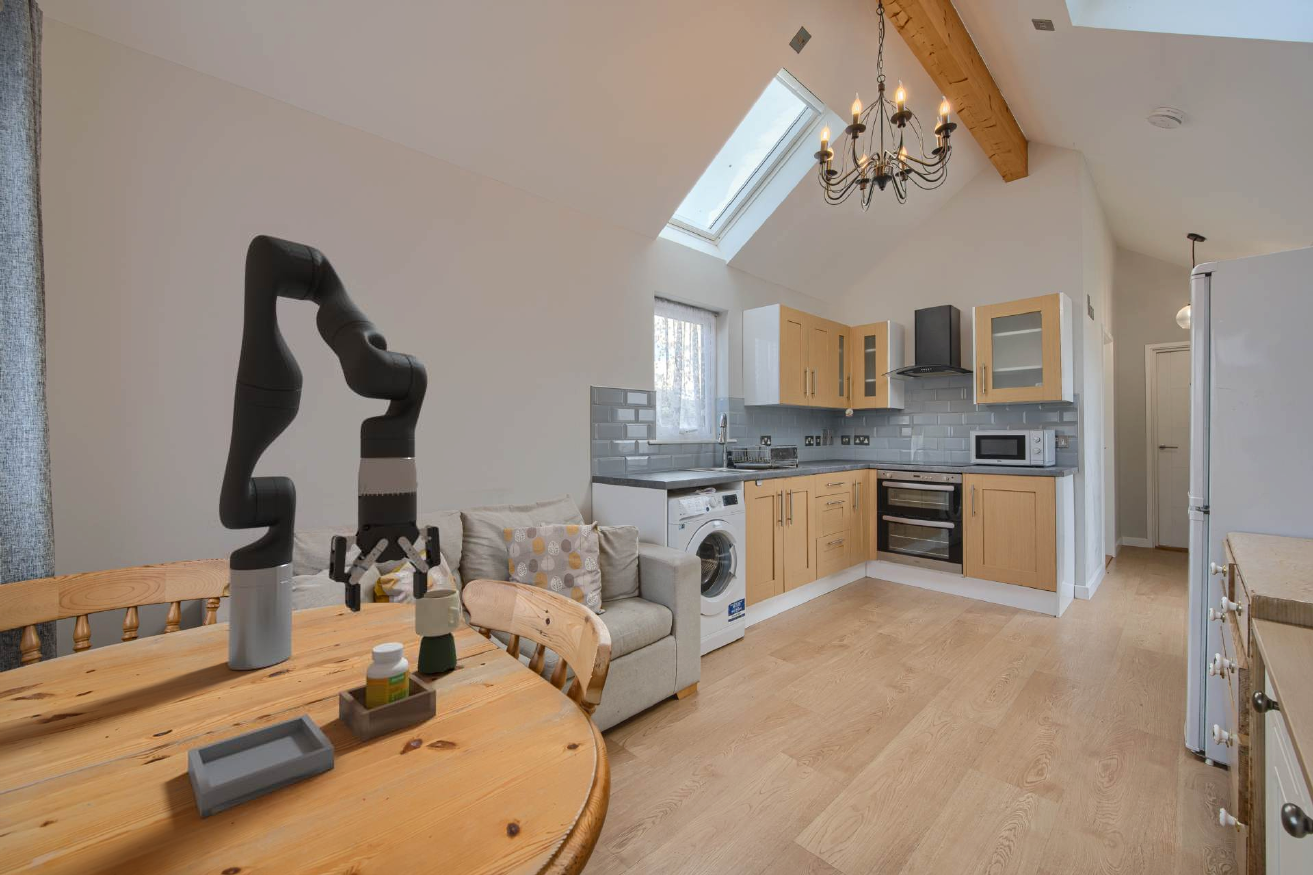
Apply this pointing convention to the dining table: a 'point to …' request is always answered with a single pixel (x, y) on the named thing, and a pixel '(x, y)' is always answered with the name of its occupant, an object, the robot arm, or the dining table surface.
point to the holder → (386, 710)
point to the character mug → (437, 629)
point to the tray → (257, 763)
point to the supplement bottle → (387, 676)
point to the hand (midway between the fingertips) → (387, 604)
